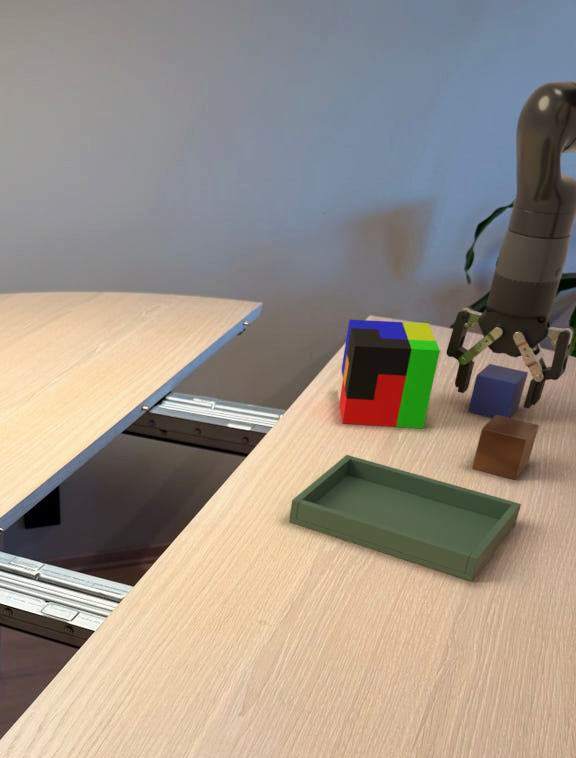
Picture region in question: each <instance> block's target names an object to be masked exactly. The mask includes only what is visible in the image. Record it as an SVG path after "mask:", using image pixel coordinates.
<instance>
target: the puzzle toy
mask: <svg viewBox="0 0 576 758" xmlns="http://www.w3.org/2000/svg"><path fill="white" fill-rule="evenodd" d="M440 352H441V350H440V347H439V344H438V343H437V340H436V338H435V335H434V333H433V330H432V327H431V325H430V323H427V322H409V321H387V320H368V319H349V320H348V326H347V331H346V338H345V344H344V352H343V357H342V363H341V370H340V377H339V382H338V390H337V398H338V404H339V405H338V406H339V410H340V417H341V423H342V424H344V425H345V424H346V425H359V426H360V425H362V426H376V427H377V426H378V427H393V428H394V427H395V428H397V427H398V428H409V429H410V428H411V429H424V426H425V422H426V417H427V412H428V408H429V402H430V398H431V394H432V389H433V385H434V380H435V376H436V375H435V374H436V371H437V366H438V361H439V356H440Z"/></svg>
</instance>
